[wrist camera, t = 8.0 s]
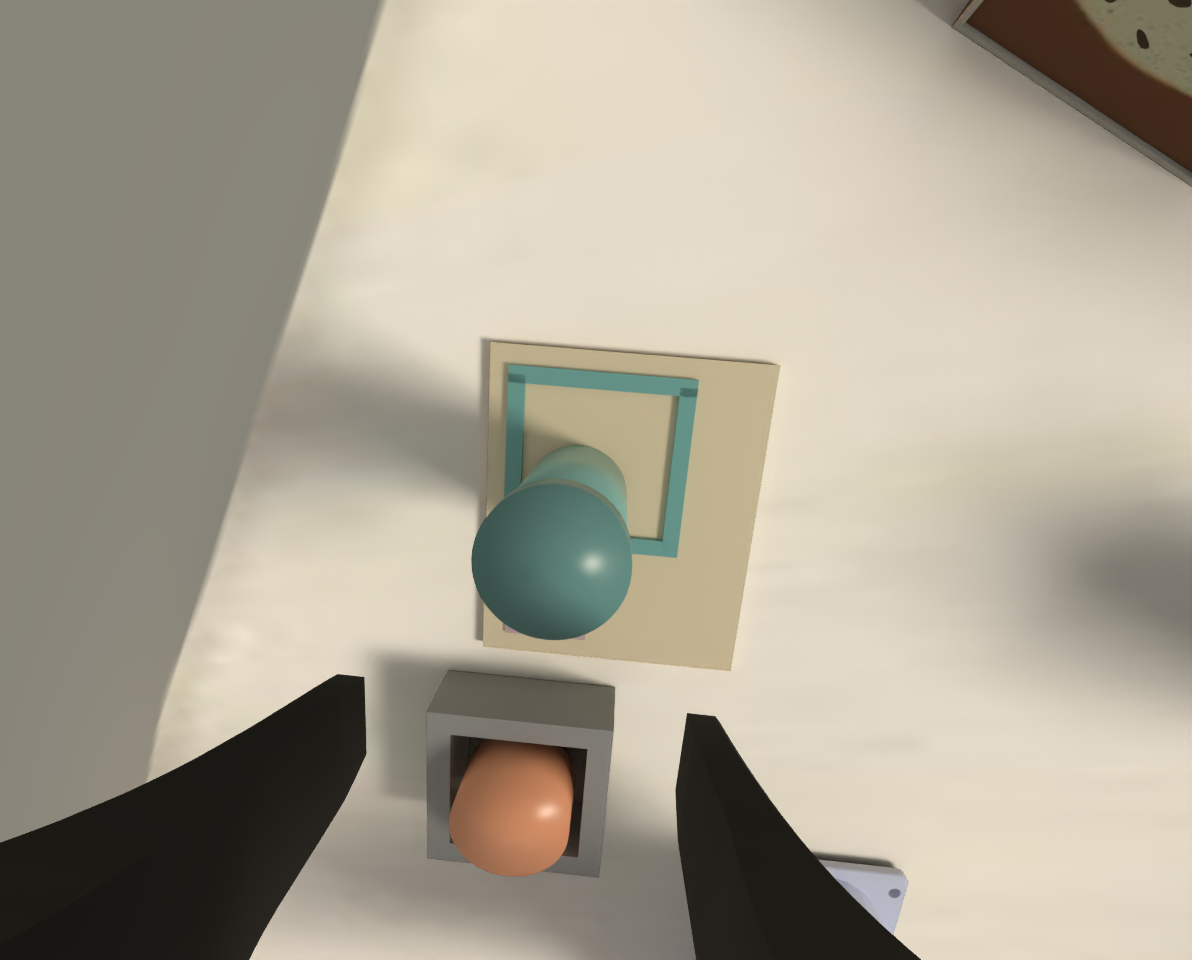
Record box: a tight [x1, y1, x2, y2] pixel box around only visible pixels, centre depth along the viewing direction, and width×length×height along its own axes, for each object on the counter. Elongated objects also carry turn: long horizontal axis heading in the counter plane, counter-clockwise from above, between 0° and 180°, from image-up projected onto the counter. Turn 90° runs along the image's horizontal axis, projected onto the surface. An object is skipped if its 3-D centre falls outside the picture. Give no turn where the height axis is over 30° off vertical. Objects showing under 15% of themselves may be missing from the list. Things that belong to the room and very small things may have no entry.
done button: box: [449, 738, 575, 877], centre depth 21 cm, size 4×4×2 cm
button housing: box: [427, 671, 615, 877], centre depth 23 cm, size 7×7×3 cm
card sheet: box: [483, 342, 780, 671], centre depth 21 cm, size 12×10×1 cm
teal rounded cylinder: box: [472, 445, 632, 640], centre depth 17 cm, size 4×4×8 cm
